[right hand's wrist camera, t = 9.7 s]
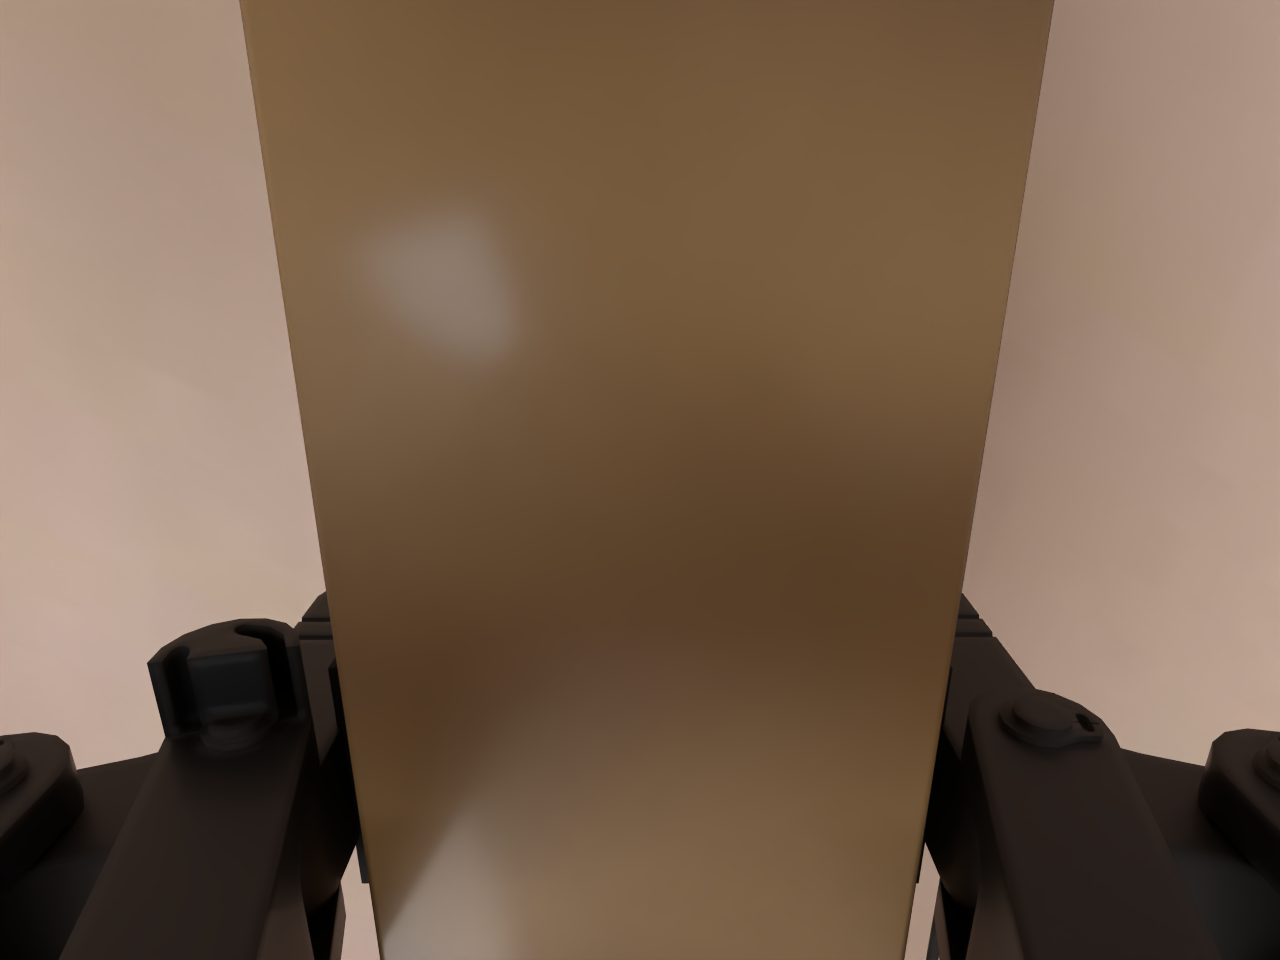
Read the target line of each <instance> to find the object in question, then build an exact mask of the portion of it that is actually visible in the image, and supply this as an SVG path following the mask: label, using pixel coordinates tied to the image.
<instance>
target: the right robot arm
mask: <svg viewBox="0 0 1280 960" xmlns="http://www.w3.org/2000/svg"><path fill="white" fill-rule="evenodd" d="M147 665H148V669H149V673H150V677H151V681H152V685H153V689H154V693H155V697H156V701H157V705H158V709H159V713H160V717H161V721H162V725H163V729H164V733H165V739H164V741H163V743H162V745H161V747H160V749H159V752H157V753H154V754H150V755H146V756H142V757H138V758H133V759H128V760H123V761H118V762H113V763H108V764H103V765H99V766H94V767H89V768H84V769H79V770H76V766H75V763H74V760H73V757H72V753H71V750H70V747H69V745H68V744H66V743H65V742H64V741H63V740H62V739H60V738H59V737H58V736H55V735H49V734H43V733H37V732H32V733H22V734H13V735H4V736H0V960H341V952H342V944H343V936H344V928H345V920H346V913H345V905H344V898H343V892H342V886H341V879H342V876H343V874H344V872H345V869H346V867H347V864H348V862H349V860H350V857H351V855H352V853H353V850H354V848H355V845H356V849H357V855H358V861H359V867H360V874H361V880H362V883H369V879H368V872H367V865H366V859H365V852H364V845H363V838H362V831H361V824H360V818H359V811H358V804H357V797H356V790H355V784H354V777H353V770H352V763H351V756H350V750H349V743H348V736H347V729H346V722H345V716H344V709H343V702H342V695H341V688H340V682H339V675H338V668H337V661H336V654H335V648H334V641H333V634H332V627H331V620H330V613H329V607H328V600H327V593H326V592H324V593H323V594H321V595H319V596H318V597H317V598H316V600H315V601H314V602H313V604H312V605H311V606H310V608H309V609H308V610H307V612H306V613H305V614H304V616H303V617H302V622H298V624H297V625H296V626H295V627H294V629H293V628H292V627H290V626H289V625H288V624H287V623H283V622H279V621H275V620H270V619H266V618H264V619H237V620H232V621H227V622H221V623H216V624H211V625H209V626H206V627H203V628H200V629H198V630H195V631H192V632H189V633H187V634H184V635H182V636H181V637H179V638H177V639H176V640H174V641H172V642H171V643H169V644H167V645H165V646H164V647H162V648H161V649H160V650H159V651H158V652H157V653H156V654H155V655H154V656H153V657H152V658H151V659H150V660H149V662H148V663H147ZM925 843H926V845H927V847H928V850H929V852H930V854H931V857H932V859H933V861H934V864H935V866H936V868H937V871H938V873H939V875H940V881H939V886H938V892H937V898H936V904H935V910H934V916H933V921H932V927H931V933H930V939H929V945H928V951H927V958H926V960H938V958H939V959H940V960H1280V732H1276V731H1266V730H1256V729H1241V730H1235V731H1228V732H1224V733H1223V734H1222V735H1221V736H1219V737H1218V738H1217V739H1216V740H1214V741H1213V742H1212V746H1211V749H1210V752H1209V755H1208V759H1207V762H1206V765H1205V766H1200V765H1195V764H1190V763H1185V762H1180V761H1175V760H1170V759H1166V758H1161V757H1156V756H1151V755H1146V754H1141V753H1137V752H1133V751H1130V750H1126V749H1122V748H1120V746H1119V744H1118V742H1117V740H1116V738H1115V736H1114V734H1113V733H1112V732H1111V731H1110V729H1109V728H1108V727H1107V726H1106V724H1105V723H1104V722H1103V721H1102V719H1100V718H1099V717H1098V716H1096V715H1095V714H1093V713H1092V712H1090V711H1089V710H1087V709H1086V708H1085V707H1083V706H1082V705H1080V704H1078V703H1076V702H1073V701H1071V700H1069V699H1066V698H1064V697H1062V696H1059V695H1057V694H1055V693H1051V692H1047V691H1042V690H1038V689H1035V688H1034V686H1033V685H1032V684H1031V682H1030V681H1029V680H1028V678H1027V677H1026V676H1025V674H1024V673H1023V672H1022V670H1021V669H1020V668H1019V667H1018V665H1017V664H1016V663H1015V661H1014V660H1013V659H1012V657H1011V656H1010V655H1009V653H1008V652H1007V651H1006V650H1005V648H1004V647H1003V646H1002V644H1001V643H1000V642H999V640H998V639H997V638H996V637H993V636H992V631H991V630H990V629H989V627H988V626H987V625H986V623H985V622H984V621H983V619H979V614H978V613H977V612H976V610H975V609H974V608H973V606H972V605H971V604H970V602H969V601H968V600H967V598H966V597H965V596H964V594H963V593H961V599H960V606H959V612H958V618H957V625H956V631H955V637H954V644H953V650H952V657H951V663H950V669H949V676H948V682H947V689H946V695H945V701H944V708H943V714H942V721H941V727H940V733H939V740H938V746H937V752H936V759H935V765H934V772H933V778H932V784H931V791H930V797H929V804H928V810H927V816H926V823H925V829H924V836H923V842H922V848H921V855H920V861H919V867H918V874H917V880H916V883H919V877H920V871H921V864H922V858H923V852H924V846H925Z"/></svg>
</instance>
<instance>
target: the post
mask: <svg viewBox="0 0 1280 960" xmlns="http://www.w3.org/2000/svg"><path fill="white" fill-rule="evenodd" d="M239 1H240V8H241V15H242V21H243V28H244V35H245V42H246V49H247V55H248V62H249V69H250V76H251V83H252V89H253V96H254V103H255V110H256V117H257V123H258V130H259V137H260V144H261V151H262V157H263V164H264V171H265V178H266V185H267V191H268V198H269V205H270V212H271V219H272V226H273V232H274V239H275V246H276V253H277V260H278V266H279V273H280V280H281V287H282V294H283V300H284V307H285V314H286V321H287V328H288V334H289V341H290V348H291V355H292V362H293V368H294V375H295V382H296V389H297V396H298V402H299V409H300V416H301V423H302V430H303V437H304V443H305V450H306V457H307V464H308V471H309V477H310V484H311V491H312V498H313V505H314V511H315V518H316V525H317V532H318V539H319V545H320V552H321V559H322V566H323V573H324V579H325V586H326V593H327V600H328V607H329V613H330V620H331V627H332V634H333V641H334V648H335V654H336V661H337V668H338V675H339V682H340V688H341V695H342V702H343V709H344V716H345V722H346V729H347V736H348V743H349V750H350V756H351V763H352V770H353V777H354V784H355V790H356V797H357V804H358V811H359V818H360V824H361V831H362V838H363V845H364V852H365V859H366V865H367V872H368V879H369V886H370V893H371V899H372V906H373V913H374V920H375V927H376V933H377V940H378V947H379V954H380V960H904V957H905V950H906V944H907V938H908V931H909V925H910V919H911V912H912V906H913V899H914V893H915V887H916V880H917V874H918V867H919V861H920V855H921V848H922V842H923V836H924V829H925V823H926V816H927V810H928V804H929V797H930V791H931V784H932V778H933V772H934V765H935V759H936V752H937V746H938V740H939V733H940V727H941V721H942V714H943V708H944V701H945V695H946V689H947V682H948V676H949V669H950V663H951V657H952V650H953V644H954V637H955V631H956V625H957V618H958V612H959V606H960V599H961V593H962V586H963V580H964V574H965V567H966V561H967V554H968V548H969V542H970V535H971V529H972V523H973V516H974V510H975V503H976V497H977V491H978V484H979V478H980V471H981V465H982V459H983V452H984V446H985V439H986V433H987V427H988V420H989V414H990V408H991V401H992V395H993V388H994V382H995V376H996V369H997V363H998V356H999V350H1000V344H1001V337H1002V331H1003V324H1004V318H1005V312H1006V305H1007V299H1008V293H1009V286H1010V280H1011V273H1012V267H1013V261H1014V254H1015V248H1016V241H1017V235H1018V229H1019V222H1020V216H1021V210H1022V203H1023V197H1024V190H1025V184H1026V178H1027V171H1028V165H1029V158H1030V152H1031V146H1032V139H1033V133H1034V126H1035V120H1036V114H1037V107H1038V101H1039V95H1040V88H1041V82H1042V75H1043V69H1044V63H1045V56H1046V50H1047V43H1048V37H1049V31H1050V24H1051V18H1052V12H1053V5H1054V0H239Z"/></svg>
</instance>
